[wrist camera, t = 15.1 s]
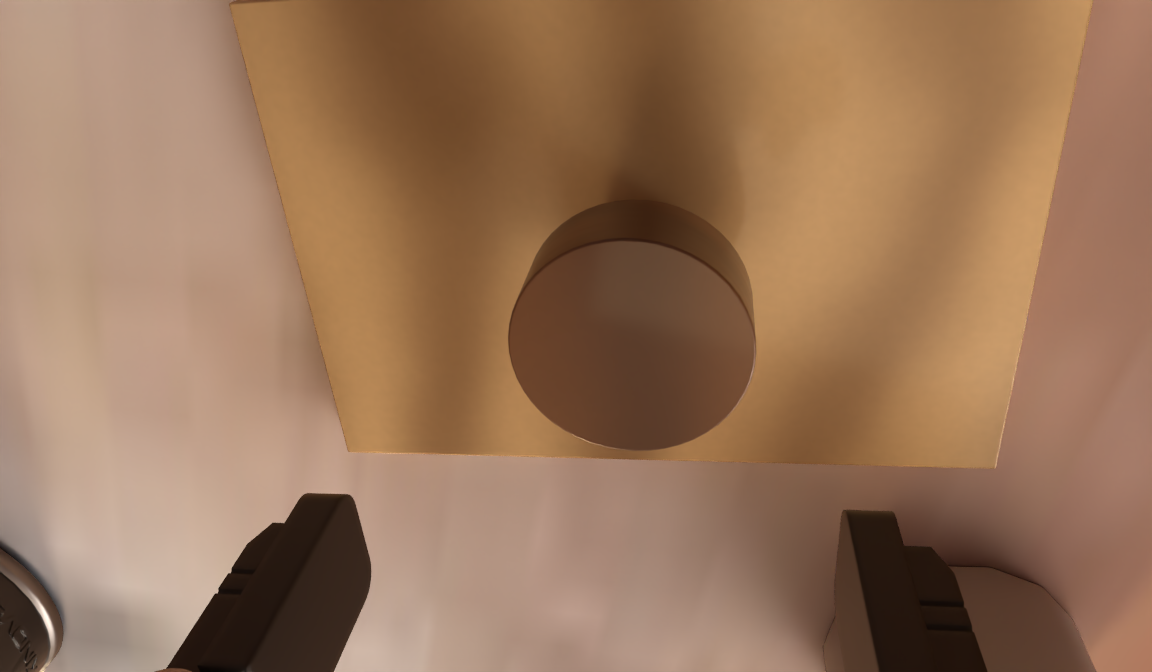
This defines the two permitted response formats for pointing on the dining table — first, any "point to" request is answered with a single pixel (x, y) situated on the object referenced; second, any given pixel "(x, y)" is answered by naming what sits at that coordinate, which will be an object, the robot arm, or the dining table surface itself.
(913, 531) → the dining table surface
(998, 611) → the cup
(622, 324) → the mushroom
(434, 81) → the board
